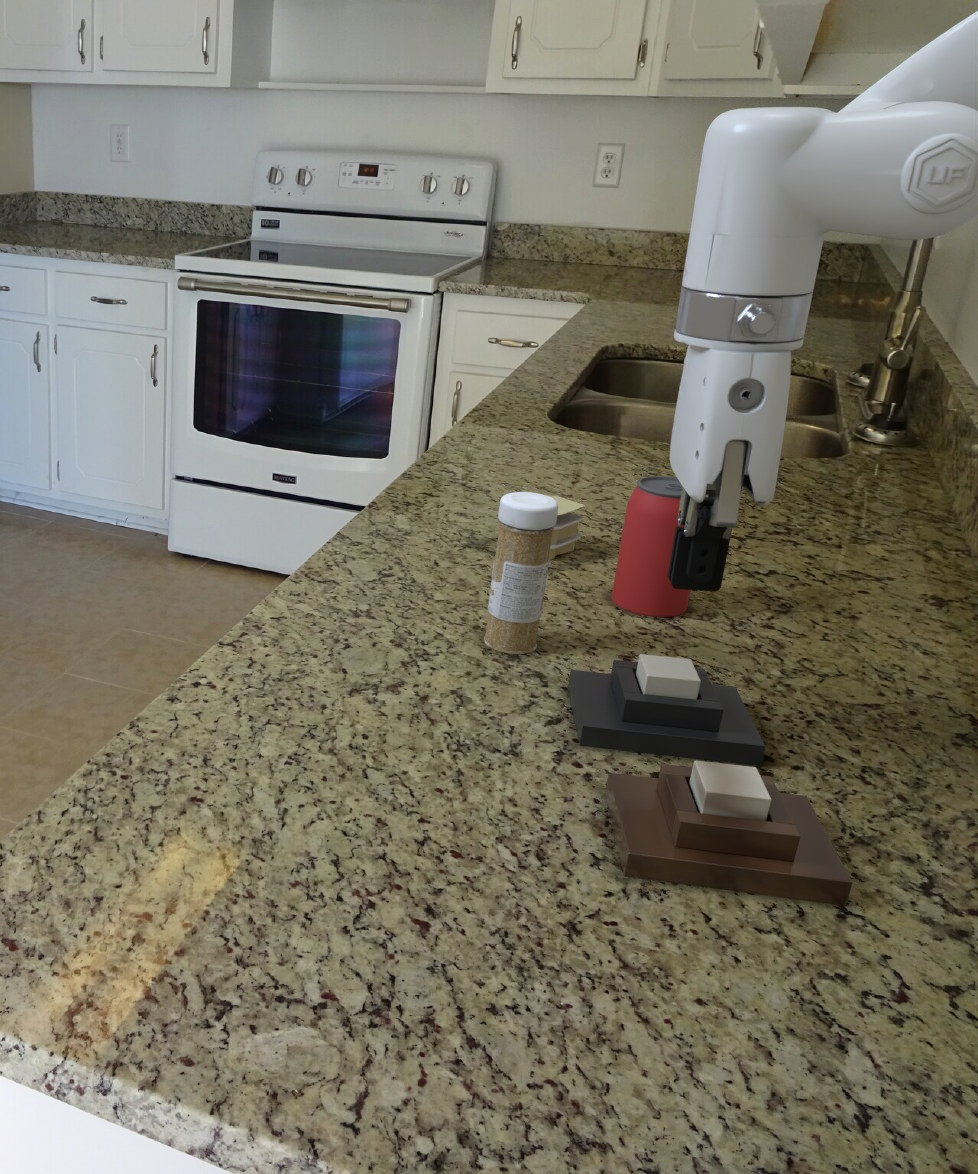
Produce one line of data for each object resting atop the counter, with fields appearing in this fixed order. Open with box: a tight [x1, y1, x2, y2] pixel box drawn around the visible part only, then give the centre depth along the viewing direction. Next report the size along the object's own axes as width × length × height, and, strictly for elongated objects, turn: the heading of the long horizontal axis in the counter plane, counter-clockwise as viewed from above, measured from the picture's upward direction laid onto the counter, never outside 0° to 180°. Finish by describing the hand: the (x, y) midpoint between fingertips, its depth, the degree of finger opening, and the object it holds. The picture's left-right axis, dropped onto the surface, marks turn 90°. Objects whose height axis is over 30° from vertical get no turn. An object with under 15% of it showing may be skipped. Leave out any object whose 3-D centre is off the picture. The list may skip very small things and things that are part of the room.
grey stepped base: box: [567, 659, 766, 767], centre depth 81 cm, size 12×9×4 cm
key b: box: [636, 653, 701, 699], centre depth 80 cm, size 4×4×2 cm
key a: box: [689, 759, 771, 821], centre depth 67 cm, size 4×4×2 cm
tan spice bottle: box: [483, 491, 558, 655], centre depth 92 cm, size 5×5×13 cm
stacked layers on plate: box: [548, 495, 586, 561], centre depth 115 cm, size 10×9×6 cm
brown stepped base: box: [604, 763, 853, 907], centre depth 68 cm, size 12×9×4 cm
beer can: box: [611, 475, 692, 618], centre depth 101 cm, size 7×7×12 cm
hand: (693, 585), depth 77 cm, fingers closed
